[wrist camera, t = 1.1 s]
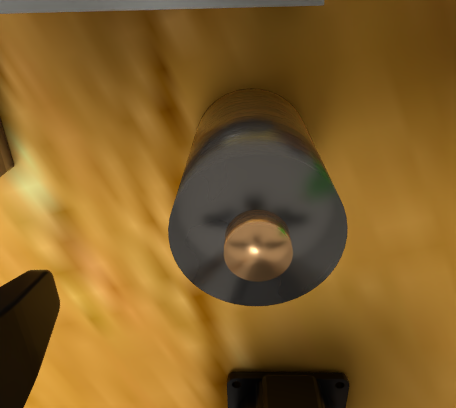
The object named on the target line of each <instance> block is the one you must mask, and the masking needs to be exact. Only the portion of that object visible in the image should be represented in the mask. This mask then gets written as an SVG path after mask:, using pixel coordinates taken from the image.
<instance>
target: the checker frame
mask: <svg viewBox="0 0 456 408" xmlns="http://www.w3.org/2000/svg"><path fill="white" fill-rule="evenodd" d="M321 5H324V0H0V14H6V13H45V12H84V11H124V10H163V9H203V8H242V7H281V6H321Z"/></svg>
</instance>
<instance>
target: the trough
mask: <svg viewBox="0 0 456 408" xmlns="http://www.w3.org/2000/svg"><path fill="white" fill-rule="evenodd" d="M12 167H14V164H13V161H12V157H11V154H10V150H9V147H8V143H7V140H6V137H5V133H4V130H3V126H2V123H1V119H0V177H1V176H2V175H3V174H5V173H6V172H7V171H8V170H10V169H11V168H12Z"/></svg>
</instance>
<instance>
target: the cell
mask: <svg viewBox="0 0 456 408" xmlns="http://www.w3.org/2000/svg"><path fill="white" fill-rule="evenodd" d="M168 232H169V243H170V248H171V251H172V254H173V257H174V259H175V261H176V263H177V265H178V266H179V268H180V269H181V271H182V272H183V274H184V275H185V276H186V277H187V278H188V279H189V280H190V281H191V282H192V283H193V284H194V285H196V286H197V287H198V288H199V289H201V290H203V291H204V292H206V293H207V294H209V295H211V296H213V297H215V298H218V299H220V300H223V301H226V302H230V303H233V304H239V305H245V306H268V305H274V304H279V303H283V302H287V301H290V300H293V299H295V298H298V297H300V296H302V295H304V294H306V293H308V292H309V291H311V290H312V289H314V288H315V287H317V286H318V285H319V284H320V283H322V282H323V281H324V280H325V279H326V278H327V277H328V276H329V275H330V274H331V272H332V271H333V270H334V268H335V267H336V265H337V264H338V262H339V260H340V258H341V256H342V253H343V251H344V248H345V244H346V239H347V218H346V214H345V210H344V207H343V204H342V202H341V200H340V198H339V196H338V193H337V191H336V189H335V187H334V185H333V183H332V181H331V179H330V177H329V175H328V173H327V171H326V168H325V166H324V164H323V162H322V160H321V158H320V156H319V154H318V152H317V150H316V148H315V146H314V144H313V141H312V139H311V137H310V135H309V133H308V131H307V129H306V127H305V125H304V123H303V121H302V119H301V117H300V115H299V113H298V112H297V110H296V109H295V108H294V107H293V106H292V105H291V104H290V103H289V102H288V101H287V100H285V99H284V98H282V97H281V96H279V95H277V94H275V93H272V92H269V91H266V90H261V89H243V90H238V91H234V92H232V93H229V94H227V95H225V96H223V97H221V98H220V99H218V100H217V101H216V102H214V103H213V104H212V105H211V106H210V107H209V108H208V110H207V111H206V112H205V114H204V115H203V117H202V118H201V121H200V123H199V125H198V128H197V132H196V135H195V138H194V141H193V144H192V148H191V151H190V154H189V157H188V160H187V164H186V167H185V170H184V173H183V176H182V180H181V183H180V186H179V189H178V192H177V196H176V199H175V202H174V205H173V208H172V212H171V215H170V219H169V228H168Z"/></svg>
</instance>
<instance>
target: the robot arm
mask: <svg viewBox="0 0 456 408" xmlns="http://www.w3.org/2000/svg"><path fill="white" fill-rule="evenodd" d="M59 308H60V300H59V296H58V292H57V288H56V285H55V281H54V278H53V275H52V273H51V272H50V271H48V270H30V271H27V272H26V273H24V274H22V275H20V276H19V277H17V278H15V279H13V280H12V281H10V282H8V283H6V284H5V285H3V286H1V287H0V408H23V407H24V405H25V403H26V401H27V399H28V396H29V394H30V392H31V390H32V387H33V385H34V383H35V380H36V378H37V376H38V373H39V370H40V367H41V364H42V361H43V358H44V355H45V352H46V349H47V346H48V343H49V340H50V337H51V334H52V331H53V328H54V325H55V322H56V319H57V316H58V313H59ZM236 381H237V382H236ZM348 390H349V381H348V377H347V376H346V374H344V373H327V372H233V373H231V374H229V375H228V378H227V395H228V408H346V402H347V396H348Z"/></svg>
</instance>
